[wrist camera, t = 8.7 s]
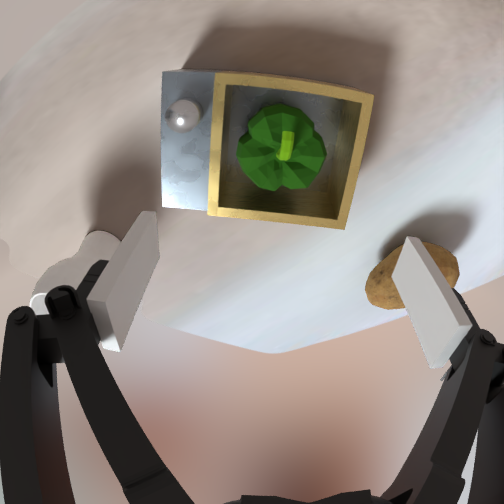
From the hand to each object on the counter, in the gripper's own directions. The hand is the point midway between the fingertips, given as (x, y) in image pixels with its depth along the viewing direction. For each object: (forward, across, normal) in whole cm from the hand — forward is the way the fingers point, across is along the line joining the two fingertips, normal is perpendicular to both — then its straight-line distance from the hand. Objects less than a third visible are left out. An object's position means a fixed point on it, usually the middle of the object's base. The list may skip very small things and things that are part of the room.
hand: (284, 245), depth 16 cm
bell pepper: (+22, +1, 0) cm, 22 cm away
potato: (+23, +21, -15) cm, 34 cm away
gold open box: (+23, -1, 0) cm, 23 cm away
